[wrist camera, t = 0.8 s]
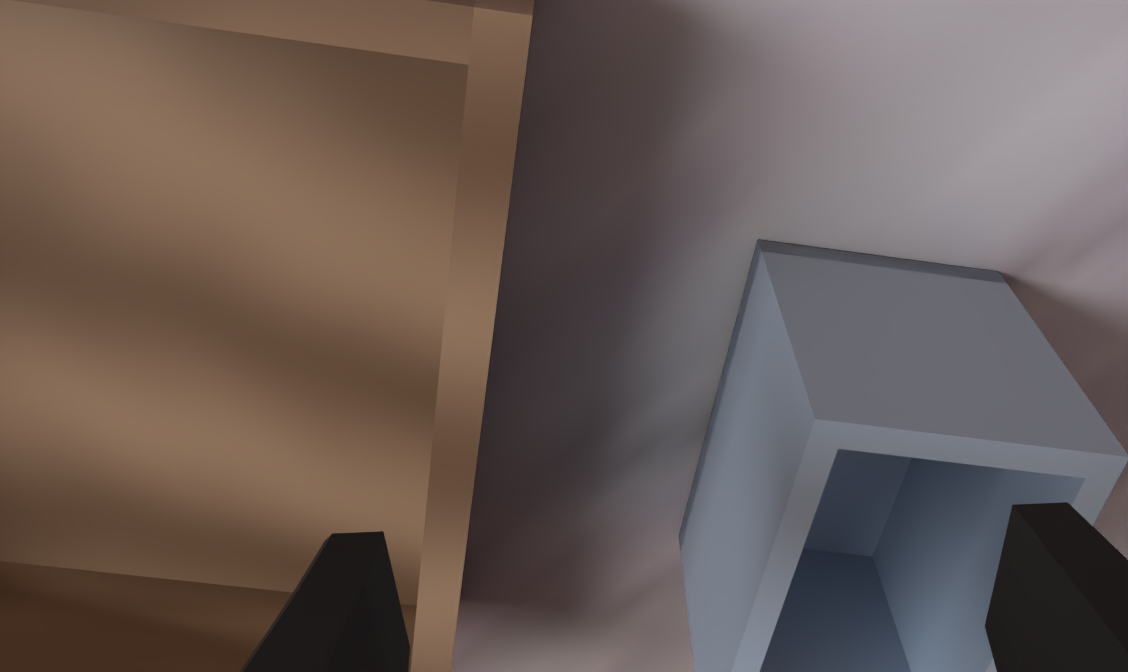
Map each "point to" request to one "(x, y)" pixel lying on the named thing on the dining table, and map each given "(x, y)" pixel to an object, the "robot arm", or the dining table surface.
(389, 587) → the robot arm
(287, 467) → the big crate
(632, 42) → the dining table surface
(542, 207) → the dining table surface
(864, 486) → the box
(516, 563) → the dining table surface
